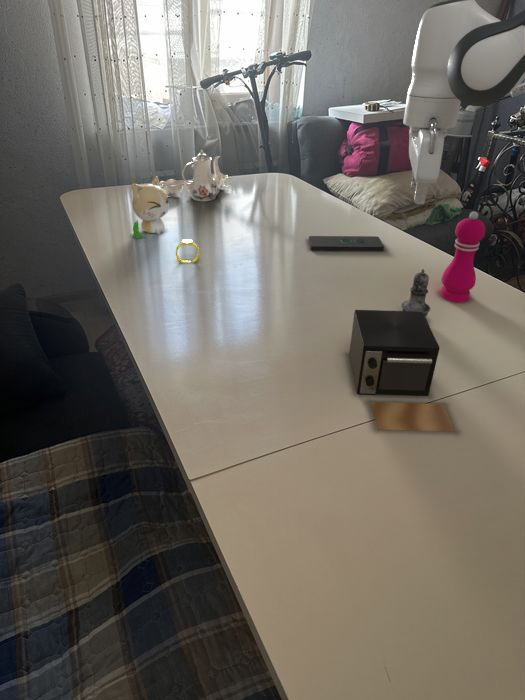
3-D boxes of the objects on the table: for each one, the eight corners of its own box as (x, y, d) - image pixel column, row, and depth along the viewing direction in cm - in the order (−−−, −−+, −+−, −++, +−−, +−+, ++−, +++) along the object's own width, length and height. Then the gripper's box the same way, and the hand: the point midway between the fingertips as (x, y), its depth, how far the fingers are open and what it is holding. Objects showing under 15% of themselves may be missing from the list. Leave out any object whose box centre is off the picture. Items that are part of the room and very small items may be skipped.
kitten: (148, 243, 144) (141, 189, 136) (122, 236, 148) (114, 183, 140) (182, 228, 155) (178, 177, 147) (156, 221, 159) (151, 172, 151)
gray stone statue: (392, 318, 109) (401, 266, 103) (414, 312, 111) (424, 261, 105) (411, 331, 105) (422, 277, 98) (433, 324, 107) (445, 272, 100)
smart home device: (384, 246, 139) (311, 246, 139) (383, 252, 140) (310, 252, 140) (378, 235, 146) (308, 235, 146) (377, 241, 147) (308, 241, 147)
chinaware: (219, 189, 196) (214, 142, 188) (246, 194, 184) (242, 145, 176) (154, 202, 180) (147, 152, 173) (179, 209, 169) (172, 156, 161)
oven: (412, 358, 96) (422, 311, 91) (430, 404, 85) (442, 353, 79) (348, 356, 97) (354, 309, 91) (357, 401, 85) (365, 351, 80)
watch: (176, 265, 131) (174, 243, 128) (176, 261, 133) (174, 239, 130) (200, 264, 132) (198, 242, 129) (199, 260, 134) (198, 238, 131)
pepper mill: (437, 301, 116) (456, 214, 105) (438, 288, 122) (457, 204, 111) (470, 306, 114) (493, 219, 103) (470, 293, 120) (492, 208, 109)
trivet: (443, 406, 84) (443, 404, 84) (454, 433, 79) (455, 431, 79) (370, 404, 85) (370, 401, 84) (376, 431, 79) (376, 428, 79)
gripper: (458, 125, 78) (440, 214, 86) (443, 106, 95) (429, 182, 103) (415, 123, 79) (402, 211, 87) (408, 105, 96) (397, 180, 104)
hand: (417, 195), depth 95 cm, fingers open, 8 cm apart
